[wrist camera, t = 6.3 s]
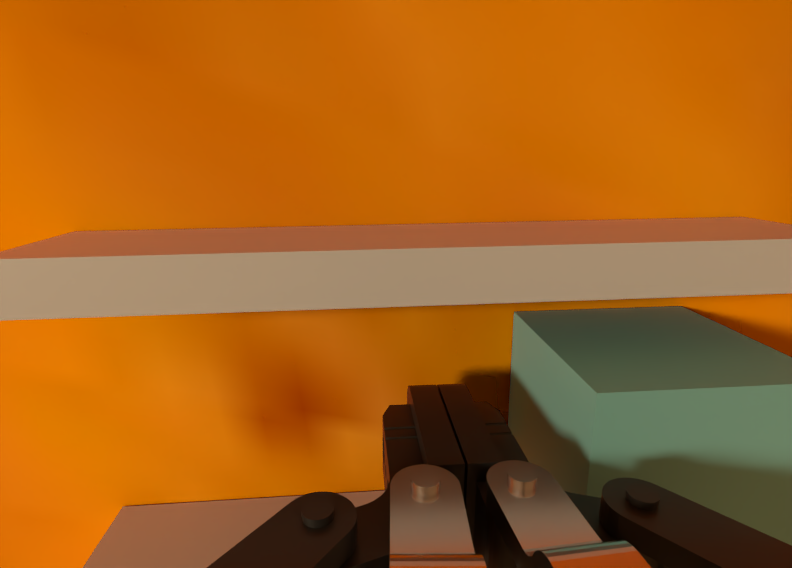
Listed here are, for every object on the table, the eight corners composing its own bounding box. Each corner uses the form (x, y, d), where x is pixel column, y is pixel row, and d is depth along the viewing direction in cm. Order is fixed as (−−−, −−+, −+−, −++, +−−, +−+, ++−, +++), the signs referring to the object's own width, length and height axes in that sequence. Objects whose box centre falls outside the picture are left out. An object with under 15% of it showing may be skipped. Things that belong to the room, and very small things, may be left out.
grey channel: (74, 231, 13) (-29, 259, 9) (742, 216, 14) (866, 237, 11) (128, 540, 15) (63, 652, 12) (694, 502, 16) (783, 592, 13)
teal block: (514, 311, 14) (596, 393, 9) (681, 305, 14) (844, 381, 10) (505, 465, 15) (574, 607, 11) (659, 456, 16) (793, 589, 11)
